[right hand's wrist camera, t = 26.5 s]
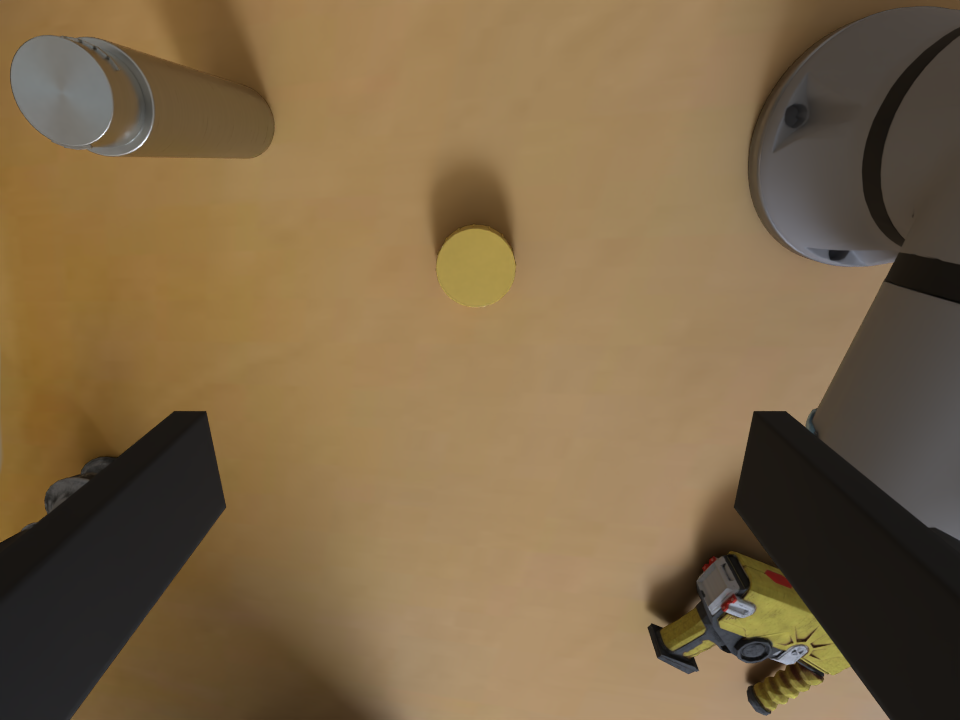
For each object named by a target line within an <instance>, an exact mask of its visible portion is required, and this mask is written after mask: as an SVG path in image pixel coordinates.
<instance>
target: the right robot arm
mask: <svg viewBox="0 0 960 720" xmlns="http://www.w3.org/2000/svg"><path fill="white" fill-rule="evenodd" d="M748 178H749V187H750V193H751V197H752V201H753V204H754V207H755V209H756V212H757V214H758V216H759V218H760V220H761V222H762V223H763V225H764V226H765V228H766V229H767V230H768V232H769V233H770V234H771V235H772V236H773V237H774V238H775V239H776V240H777V241H778V242H779V243H780V244H781V245H783V246H784V247H785V248H787V249H789V250H790V251H792V252H794V253H796V254H798V255H800V256H802V257H805V258H808V259H811V260H814V261H818V262H821V263H825V264H830V265H835V266H847V267H860V266H874V265H880V264H886V263H891V262H894V263H893V265H892V267H891V269H890V271H889V273H888V275H887V277H886V278H885V280H886V281H885V280H884V281H883V283H882V285H881V287H880V289H879V291H878V293H877V295H876V297H875V299H874V301H873V303H872V305H871V307H870V309H869V311H868V313H867V315H866V316H865V318H864V320H863V322H862V324H861V326H860V328H859V330H858V332H857V334H856V336H855V338H854V340H853V341H852V343H851V345H850V347H849V349H848V351H847V353H846V355H845V357H844V359H843V361H842V363H841V364H840V366H839V368H838V370H837V372H836V374H835V376H834V378H833V380H832V382H831V384H830V386H829V387H828V389H827V391H826V393H825V395H824V397H823V399H822V401H821V403H820V405H819V407H818V408H816V409H813V410H812V412H811V413H810V414H809V416H808V418H807V421H806V427H804V426H803V425H802V424H801V423H800V422H798V421H797V420H796V419H795V418H793V417H792V416H791V415H790V414H788V413H787V412H786V411H754V413H753V417H752V422H751V427H750V432H749V437H748V442H747V446H746V451H745V456H744V461H743V466H742V471H741V475H740V480H739V485H738V490H737V495H736V499H735V504H734V508H735V509H736V511H737V512H738V514H739V515H740V516H741V518H742V519H743V520H744V522H745V523H746V524H747V526H748V527H749V528H750V530H751V531H752V533H753V534H754V535H755V537H756V538H757V539H758V541H759V542H760V543H761V545H762V546H763V548H764V549H765V550H766V552H767V553H768V554H769V556H770V557H771V558H772V560H773V561H774V562H775V564H776V565H777V567H778V568H779V569H780V571H781V572H782V573H783V575H784V576H785V577H786V579H787V580H788V581H789V583H790V584H791V586H792V587H793V588H794V590H795V591H796V592H797V594H798V595H799V596H800V598H801V599H802V601H803V602H804V603H805V605H806V606H807V607H808V609H809V610H810V611H811V613H812V614H813V615H814V617H815V618H816V620H817V621H818V622H819V624H820V625H821V626H822V628H823V629H824V630H825V632H826V633H827V635H828V636H829V637H830V639H831V640H832V641H833V643H834V644H835V645H836V647H837V648H838V649H839V651H840V652H841V654H842V655H843V656H844V658H845V659H846V660H847V662H848V663H849V664H850V666H851V667H852V669H853V670H854V671H855V673H856V674H857V675H858V677H859V678H860V679H861V681H862V682H863V683H864V685H865V686H866V688H867V689H868V690H869V692H870V693H871V694H872V696H873V697H874V698H875V700H876V701H877V703H878V704H879V705H880V707H881V708H882V709H883V711H884V712H885V713H886V715H887V716H888V717H889V719H890V720H960V10H955V9H947V8H941V7H931V6H916V7H905V8H897V9H892V10H886V11H883V12H880V13H877V14H873V15H871V16H868V17H865V18H863V19H860V20H857V21H855V22H852V23H850V24H847V25H845V26H843V27H841V28H839V29H837V30H835V31H833V32H832V33H830V34H828V35H827V36H825V37H824V38H822V39H821V40H819V41H818V42H817V43H815V44H814V45H813V46H811V47H810V48H809V49H808V50H807V51H806V52H804V53H803V54H802V55H801V56H800V57H799V58H798V59H797V60H796V61H795V62H794V63H793V64H792V65H791V66H790V67H789V69H788V70H787V71H786V72H785V74H784V75H783V76H782V77H781V79H780V80H779V81H778V83H777V84H776V86H775V87H774V89H773V90H772V92H771V94H770V95H769V97H768V99H767V101H766V102H765V105H764V107H763V109H762V111H761V113H760V115H759V118H758V121H757V123H756V126H755V130H754V133H753V137H752V141H751V146H750V151H749V161H748ZM225 508H226V504H225V500H224V495H223V490H222V485H221V480H220V475H219V471H218V466H217V461H216V456H215V451H214V446H213V442H212V437H211V432H210V427H209V422H208V417H207V413H206V411H174V412H173V413H172V414H170V415H169V416H168V417H167V418H165V419H164V420H163V421H162V422H160V423H159V424H158V425H157V426H156V427H154V428H153V429H152V430H151V431H149V432H148V433H147V434H146V435H145V436H143V437H142V438H141V439H140V440H138V441H137V442H136V443H135V444H133V445H132V446H131V447H130V448H129V449H127V450H126V451H125V452H124V453H122V454H121V455H120V456H119V457H118V458H116V459H115V460H114V461H113V462H111V463H110V464H109V465H108V466H106V467H105V468H104V469H103V470H102V471H100V472H99V473H98V474H97V475H95V476H94V477H93V478H92V479H91V480H89V481H88V482H87V483H86V484H84V485H83V486H82V487H81V488H80V489H78V490H77V491H76V492H75V493H73V494H72V495H71V496H70V497H68V498H67V499H66V500H65V501H64V502H62V503H61V504H60V505H59V506H57V507H56V508H55V509H54V510H53V511H51V512H50V513H49V514H48V515H46V516H45V517H44V518H43V519H41V520H40V521H39V522H38V523H37V524H35V525H34V526H33V527H32V528H30V529H25V530H23V531H21V532H19V533H17V534H16V535H14V536H12V537H10V538H8V539H6V540H4V541H3V542H1V543H0V720H70V719H71V717H72V716H73V715H74V713H75V712H76V711H77V709H78V708H79V707H80V705H81V704H82V703H83V701H84V700H85V698H86V697H87V696H88V694H89V693H90V692H91V690H92V689H93V688H94V686H95V685H96V683H97V682H98V681H99V679H100V678H101V677H102V675H103V674H104V673H105V671H106V670H107V669H108V667H109V666H110V664H111V663H112V662H113V660H114V659H115V658H116V656H117V655H118V654H119V652H120V651H121V649H122V648H123V647H124V645H125V644H126V643H127V641H128V640H129V639H130V637H131V636H132V635H133V633H134V632H135V630H136V629H137V628H138V626H139V625H140V624H141V622H142V621H143V620H144V618H145V617H146V615H147V614H148V613H149V611H150V610H151V609H152V607H153V606H154V605H155V603H156V602H157V601H158V599H159V598H160V596H161V595H162V594H163V592H164V591H165V590H166V588H167V587H168V586H169V584H170V583H171V581H172V580H173V579H174V577H175V576H176V575H177V573H178V572H179V571H180V569H181V568H182V567H183V565H184V564H185V562H186V561H187V560H188V558H189V557H190V556H191V554H192V553H193V552H194V550H195V549H196V547H197V546H198V545H199V543H200V542H201V541H202V539H203V538H204V537H205V535H206V534H207V533H208V531H209V530H210V528H211V527H212V526H213V524H214V523H215V522H216V520H217V519H218V518H219V516H220V515H221V514H222V512H223V511H224V509H225Z"/></svg>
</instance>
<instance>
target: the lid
mask: <svg viewBox="0 0 960 720" xmlns="http://www.w3.org/2000/svg"><path fill="white" fill-rule="evenodd" d="M512 251H513V249H512V247H511V246H510V245H509V243H508V242H507V240H506V239H505V238H504V237H503V234H500V233H499V232H498V231H496V230H494V229H493V228H490V226H484V225H475V224H473V225H468V226H464V227H462V228H460V227H459V228H458V230H456V231H454V232H453V233H452V234H451V235H450V236H449V237H446V239H445V242H444V244H443V246H442V248H441V250H439V252H438V254H437V255H438V258H437V263H436V272H437V277H438V281H439V283H440V286H441V287H442V289H443V290H444V292H445V293H446V294H447V295H448V296H449V297H450V298H451V299H452V300H454V301H455V302H457V303H459V304H461V305H464V306H468V307H484V306H488V305H491V304H493V303H495V302H497V301H498V300H500V299H501V298H502V297H503V296H504V295H505V294H506V293H507V292H508V290H509V289H510V287H511V285H512V283H513V281H514V277H515V270H516V268H515V266H516V263H515V259H514V256H513V253H512Z"/></svg>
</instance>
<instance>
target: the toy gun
mask: <svg viewBox="0 0 960 720" xmlns="http://www.w3.org/2000/svg"><path fill="white" fill-rule="evenodd" d="M702 569H703V571H704V572H703V573H702V574H701V575H700V576H699V578H698V580H697V581H696V583H697V592H698V594H699V597H700V599H701V602H700V603H699V604H698V605H697V606H696V607H695V608H694V609H693V610H691V611H690V612H688V613H687V614H686V615H684V616H683V617H681V618H680V619H678V620H677V621H675V622H673V623H671V624H669V625H668V626H666V627H664V628H662V627H660V626H657V625H654V624H652V623H651V625H650V626H649V627H648V630H649V633H650V637H651V640H652V643H653V646H654V649H655V652H656V655H657V658H658V659H660V660H662V661H664V662H666V663H668V664H670V665H672V666H674V667H675V668H677V669H679V670H681V671H683V672H685V673H687V674H690V673H692V672H694V671H696V672H697V671H699V670H698V667H697V664H696V662H695V659H694V656H697V655H699V653H701V652H703V651H705V650H708V649H710V648H712V647H713V646H715V645H718V647H719V648H720V649H721V650H723V651H725V652H727V653H732V654H734V655H735V656H737V657H738V659H740V660H742V661H744V662H745V663H757V662H761V661H763V660H765V659H767V658H769V659H772V660H775V661H778V662H781V663H784V664H786V665H787V664H791V665H787V666H786V669H785V671H783V670H779V671H777V672H776V674H775V676H774V677H766V678H765V680H764V683H762V682H758V683H757V684H755V685H754V686H752V685H751V686H749V687H748V690H747V696H748V701H749V703H750V704H751V705H752V707H753V708H754V709H755V711H756V712H758V713H761V714H763V715H766V716H767V715H768V714H771V711H773V710H775V709H776V707H777V705H778V704H785V703H787V702H788V699H789V698H796V697H797V696H798V694H799V692H800V691H801V692H804V691H807V690H809V688H810V686H811V685H818V684H820V683H822V682H823V680H824V678H823V676H824V673H826V674H831V675H835V674H837V673H840V672H841V671H842V670H844V669H846V668H848V667H851V666H850V664H849V663H848V662H847V660H846V659H845V658H844V656H843V655H842V654H841V652H840V651H839V649H838V648H837V647H836V645H835V644H834V643H833V641H832V640H831V639H830V637H829V636H828V635H827V633H826V632H825V630H824V629H823V628H822V626H821V625H820V624H819V622H818V621H817V620H816V618H815V617H814V615H813V614H812V613H811V611H810V610H809V609H808V607H807V606H806V605H805V603H804V602H803V601H802V599H801V598H800V596H799V595H798V594H797V592H796V591H795V590H794V588H793V587H792V586H791V584H790V583H789V581H788V580H787V579H786V577H785V576H784V575H783V573H782V572H781V571H780V569H777V568H775V567H772V566H770V565H767V564H765V563H762V562H760V561H757V560H755V559H752V558H750V557H747V556H745V555H742V554H740V553H737V552H733V551H730V552H729V553H728V554H727V555H724V556H721V557H720V558H717V557H714V556H713V557H711V558H710V560H709V564H704V566H703V567H702ZM795 662H796V664H794V663H795Z"/></svg>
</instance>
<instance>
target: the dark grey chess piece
mask: <svg viewBox="0 0 960 720" xmlns="http://www.w3.org/2000/svg"><path fill="white" fill-rule="evenodd" d="M115 459H116V458H112V457H99V458H96V459H93V460H91V461H90V462H88V463H87V464H85V466H84V467H83V469H82V471H81V474H79V475H76V476H73V477H70V478H65V479H62V480H59V481H57V482H56V483H54V484H53V485H51V486H50V488H49V489H48V491H47V492H46V496H45V500H44V501H45V509H46V511H47V515H48V514H49V513H50V512H51V511H53V510H54V509H55V508H56V507H57V506H59V505H60V504H61V503H62V502H64V501H65V500H66V499H67V498H68V497H70V496H71V495H72V494H73V493H75V492H76V491H77V490H78V489H80V488H81V487H82V486H83V485H84V484H86V483H87V482H88V481H89V480H91V479H92V478H93V477H94V476H95V475H97V474H98V473H99V472H100V471H102V470H103V469H104V468H105V467H106V466H108V465H109V464H110V463H111V462H113V461H114V460H115ZM42 519H43V518H42ZM37 523H38V522H36V523H31V524H28V525H27V526H25V527H24V528H23V529H22V531H23V530H25V529H30V528H32V527H33V526H34V525H35V524H37Z"/></svg>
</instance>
